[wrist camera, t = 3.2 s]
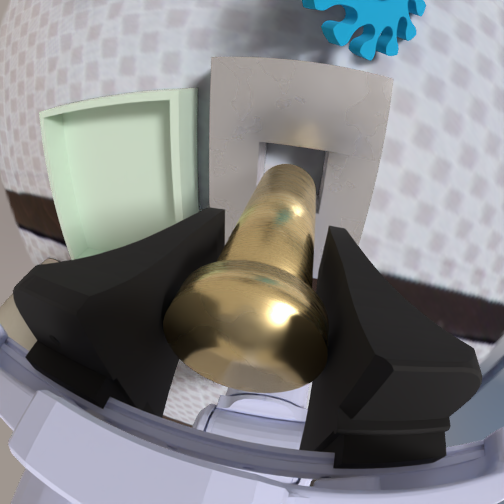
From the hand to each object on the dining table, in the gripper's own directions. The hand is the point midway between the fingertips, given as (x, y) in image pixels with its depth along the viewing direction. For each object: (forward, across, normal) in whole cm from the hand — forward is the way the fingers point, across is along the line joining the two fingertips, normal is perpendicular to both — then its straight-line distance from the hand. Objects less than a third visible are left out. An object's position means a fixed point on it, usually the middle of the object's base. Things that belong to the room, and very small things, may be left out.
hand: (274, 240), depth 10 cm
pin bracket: (+10, 0, 0) cm, 10 cm away
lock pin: (+5, 0, 0) cm, 5 cm away
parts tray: (+10, +14, +3) cm, 17 cm away
